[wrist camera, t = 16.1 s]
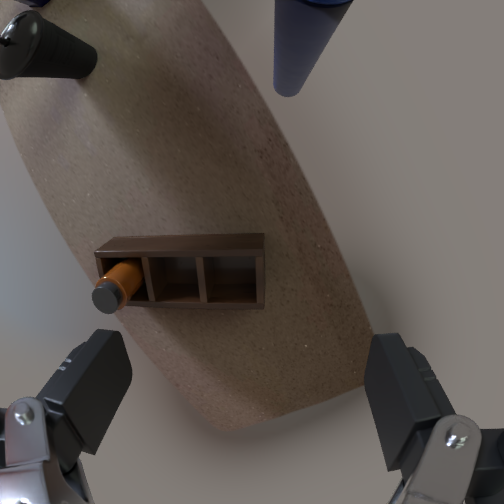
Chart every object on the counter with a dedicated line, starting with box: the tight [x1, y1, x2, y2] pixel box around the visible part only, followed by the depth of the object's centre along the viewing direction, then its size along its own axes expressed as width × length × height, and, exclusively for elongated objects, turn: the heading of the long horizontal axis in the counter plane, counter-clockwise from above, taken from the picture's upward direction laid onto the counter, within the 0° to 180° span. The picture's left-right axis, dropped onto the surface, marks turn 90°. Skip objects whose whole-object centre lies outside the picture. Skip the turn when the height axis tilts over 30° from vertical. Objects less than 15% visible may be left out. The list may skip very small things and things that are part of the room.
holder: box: [94, 233, 265, 309], centre depth 36 cm, size 7×20×6 cm, turn 92°
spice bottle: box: [92, 257, 145, 314], centre depth 34 cm, size 4×4×10 cm
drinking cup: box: [0, 10, 97, 80], centre depth 21 cm, size 8×8×20 cm
